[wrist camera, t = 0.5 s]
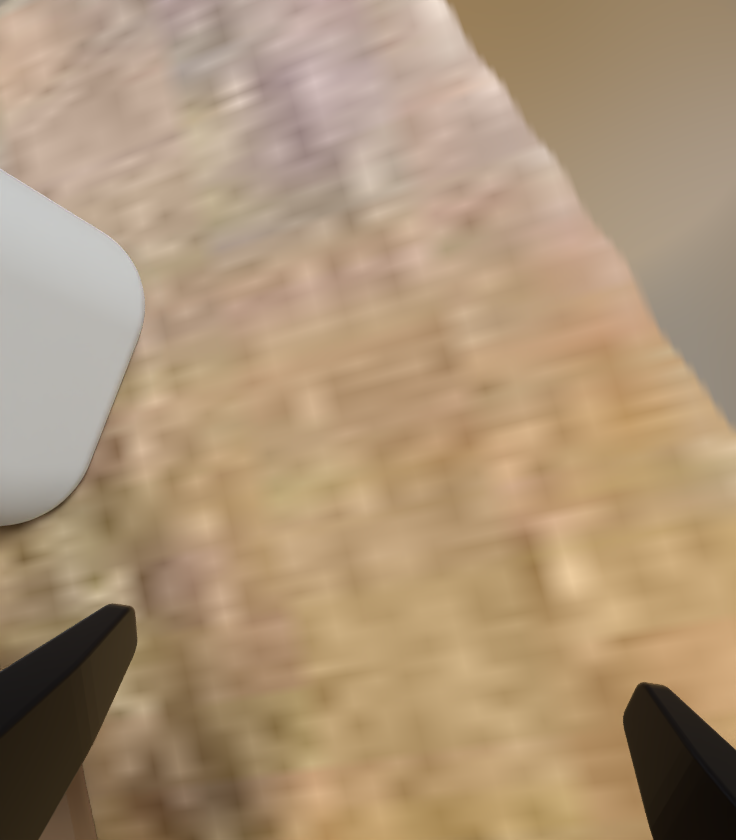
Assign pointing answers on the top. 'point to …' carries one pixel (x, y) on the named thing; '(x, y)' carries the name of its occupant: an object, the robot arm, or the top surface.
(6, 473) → the plastic bottle
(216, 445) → the top surface
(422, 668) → the top surface
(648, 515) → the top surface
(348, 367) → the top surface
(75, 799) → the walnut board
